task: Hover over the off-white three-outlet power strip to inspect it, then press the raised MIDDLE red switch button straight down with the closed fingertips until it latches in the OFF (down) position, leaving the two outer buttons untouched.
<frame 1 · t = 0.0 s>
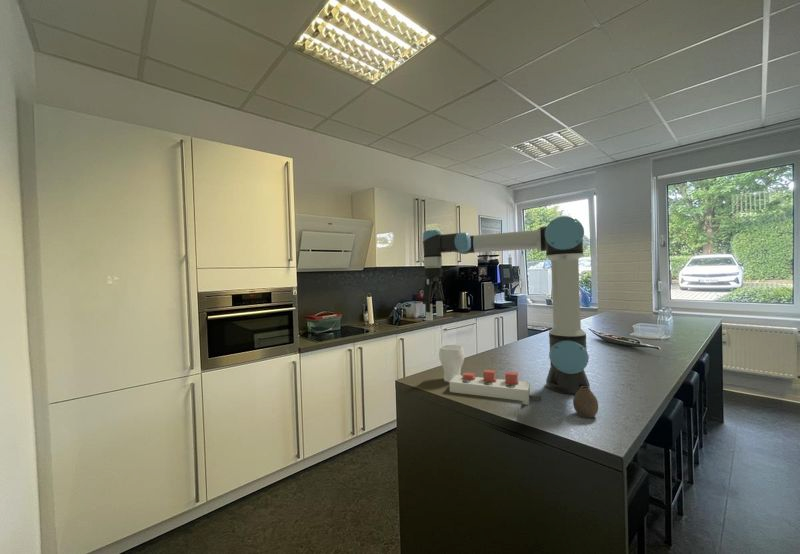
hand: (434, 318, 134), 28 cm above the countertop, fingers open, 13 cm apart
cup: (452, 382, 137), on the countertop
button b: (489, 375, 123), point 7 cm above the countertop, slide at 0.0 cm
button a: (511, 377, 119), point 7 cm above the countertop, slide at 0.0 cm
strip: (489, 395, 121), on the countertop
vase: (585, 415, 101), on the countertop
button c: (468, 378, 126), point 5 cm above the countertop, slide at 1.8 cm
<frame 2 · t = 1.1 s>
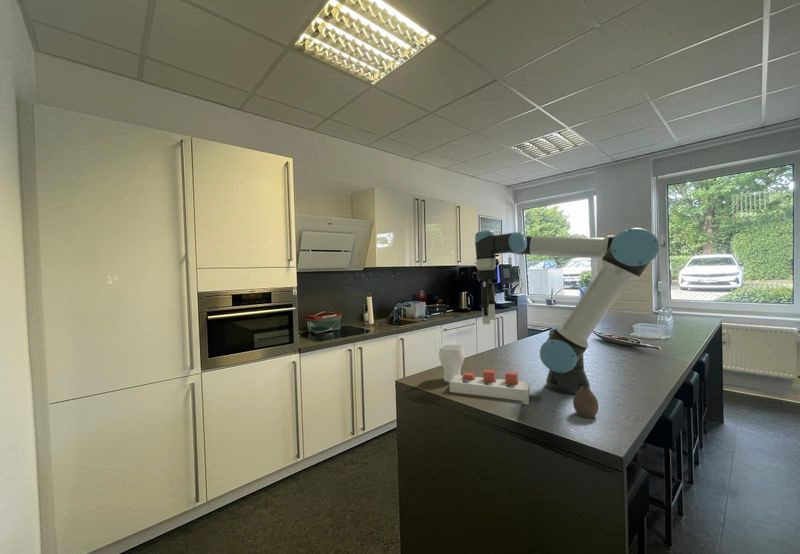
hand: (489, 322, 130), 26 cm above the countertop, fingers open, 13 cm apart
nothing on the countertop moved.
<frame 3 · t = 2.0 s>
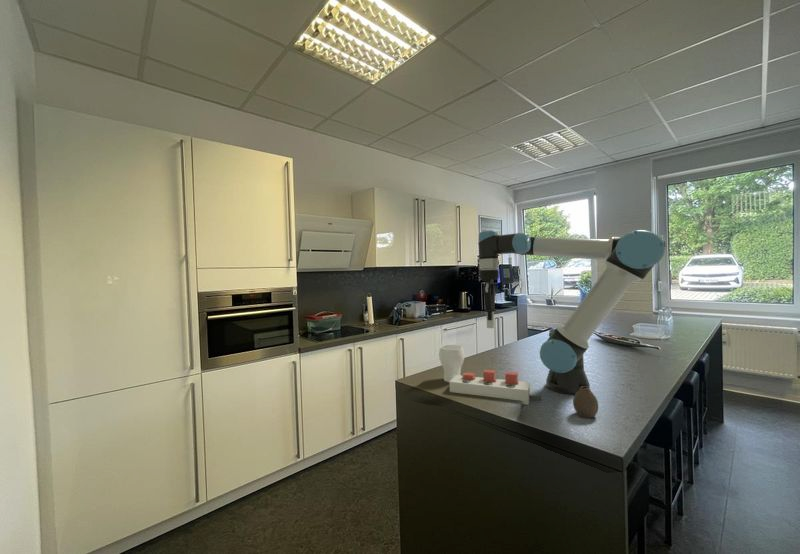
hand: (490, 327, 130), 24 cm above the countertop, fingers closed
nothing on the countertop moved.
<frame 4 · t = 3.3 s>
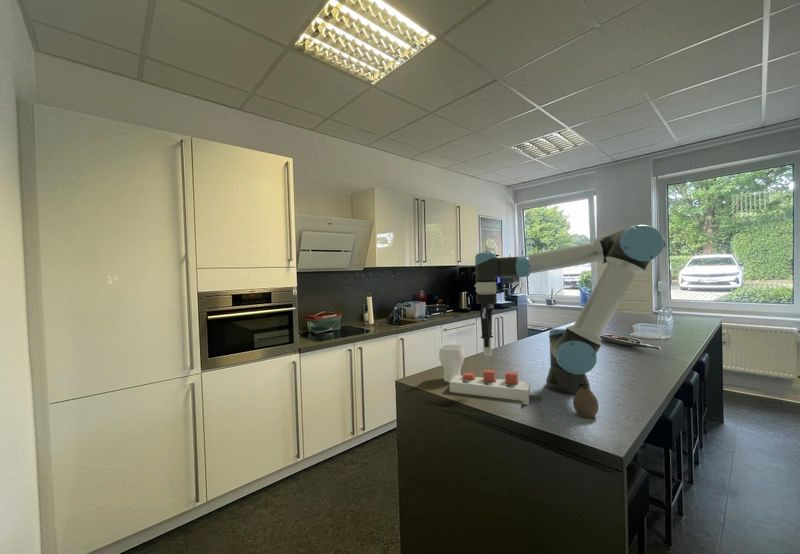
hand: (487, 355, 122), 15 cm above the countertop, fingers closed
nothing on the countertop moved.
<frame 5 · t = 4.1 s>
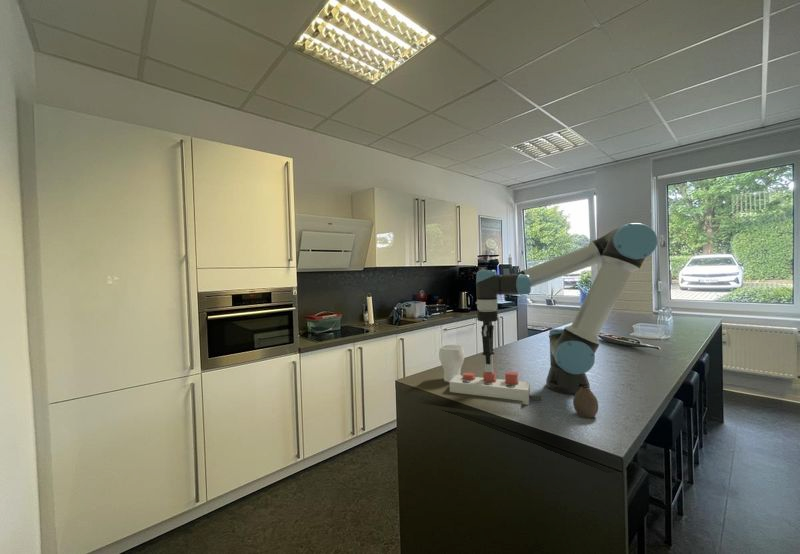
hand: (488, 371, 123), 8 cm above the countertop, fingers closed
button b: (489, 377, 123), point 6 cm above the countertop, slide at 0.6 cm, touching gripper
everything else where it was.
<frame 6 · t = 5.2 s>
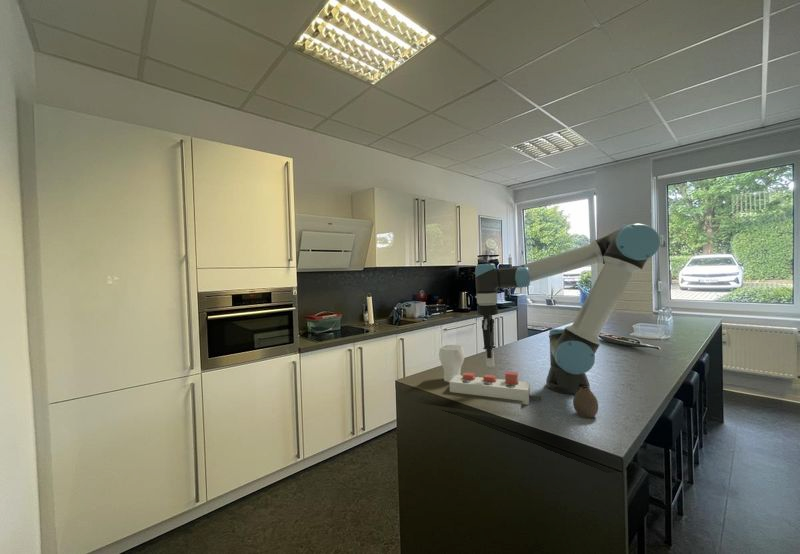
hand: (490, 365, 122), 11 cm above the countertop, fingers closed
button b: (489, 380, 123), point 5 cm above the countertop, slide at 1.8 cm
everything else where it was.
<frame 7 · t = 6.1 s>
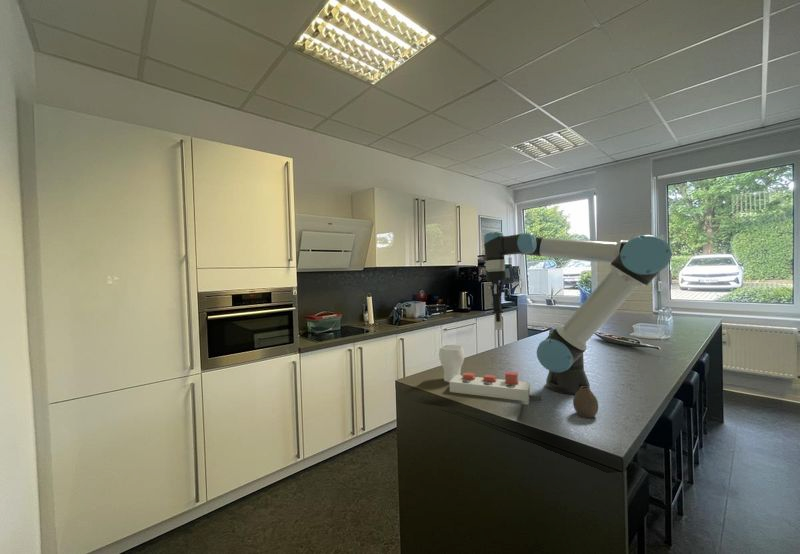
hand: (498, 329, 129), 23 cm above the countertop, fingers closed
nothing on the countertop moved.
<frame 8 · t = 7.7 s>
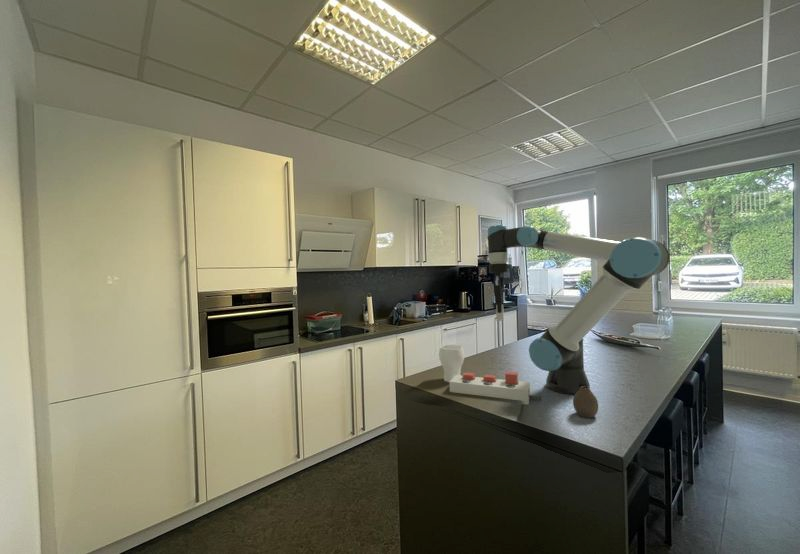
hand: (500, 320, 132), 26 cm above the countertop, fingers closed
nothing on the countertop moved.
at the end: button b slide at 1.8 cm; button a slide at 0.0 cm; button c slide at 1.8 cm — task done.
